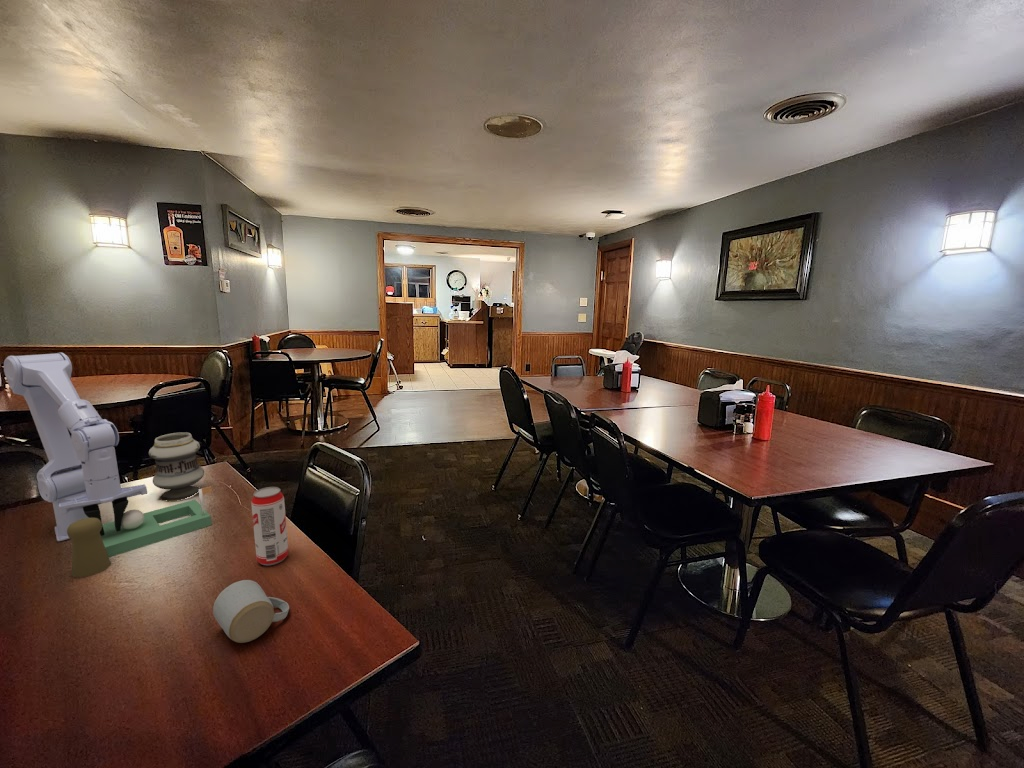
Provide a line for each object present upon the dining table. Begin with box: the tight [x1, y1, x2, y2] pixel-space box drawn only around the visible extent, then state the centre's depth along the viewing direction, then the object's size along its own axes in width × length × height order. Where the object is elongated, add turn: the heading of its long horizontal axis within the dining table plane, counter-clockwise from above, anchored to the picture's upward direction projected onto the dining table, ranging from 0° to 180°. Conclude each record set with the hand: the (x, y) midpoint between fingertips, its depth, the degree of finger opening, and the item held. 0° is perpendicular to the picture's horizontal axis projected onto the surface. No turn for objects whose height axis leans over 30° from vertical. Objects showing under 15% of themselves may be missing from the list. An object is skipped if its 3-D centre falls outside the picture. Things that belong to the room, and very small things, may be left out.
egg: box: [121, 509, 144, 529], centre depth 103 cm, size 4×4×4 cm
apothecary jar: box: [148, 431, 205, 502], centre depth 126 cm, size 12×12×18 cm
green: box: [101, 499, 213, 558], centre depth 106 cm, size 14×21×2 cm, turn 139°
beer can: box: [250, 486, 290, 567], centre depth 94 cm, size 6×6×16 cm
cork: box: [67, 518, 112, 578], centre depth 90 cm, size 6×6×11 cm
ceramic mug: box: [212, 579, 290, 644], centre depth 75 cm, size 11×8×8 cm
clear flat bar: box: [198, 486, 213, 516], centre depth 110 cm, size 1×3×7 cm, turn 139°
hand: (110, 531), depth 100 cm, fingers open, 2 cm apart
